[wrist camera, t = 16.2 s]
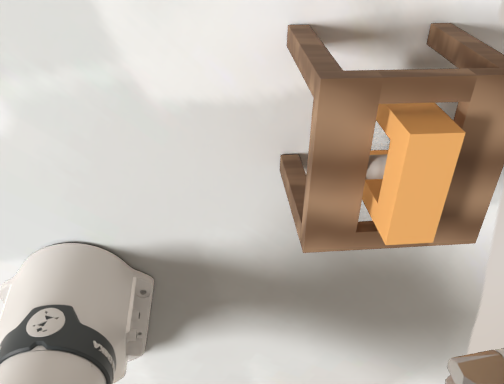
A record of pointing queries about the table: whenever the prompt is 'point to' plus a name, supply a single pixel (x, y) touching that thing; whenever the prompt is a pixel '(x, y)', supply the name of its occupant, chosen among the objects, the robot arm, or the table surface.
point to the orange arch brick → (413, 172)
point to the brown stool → (372, 166)
